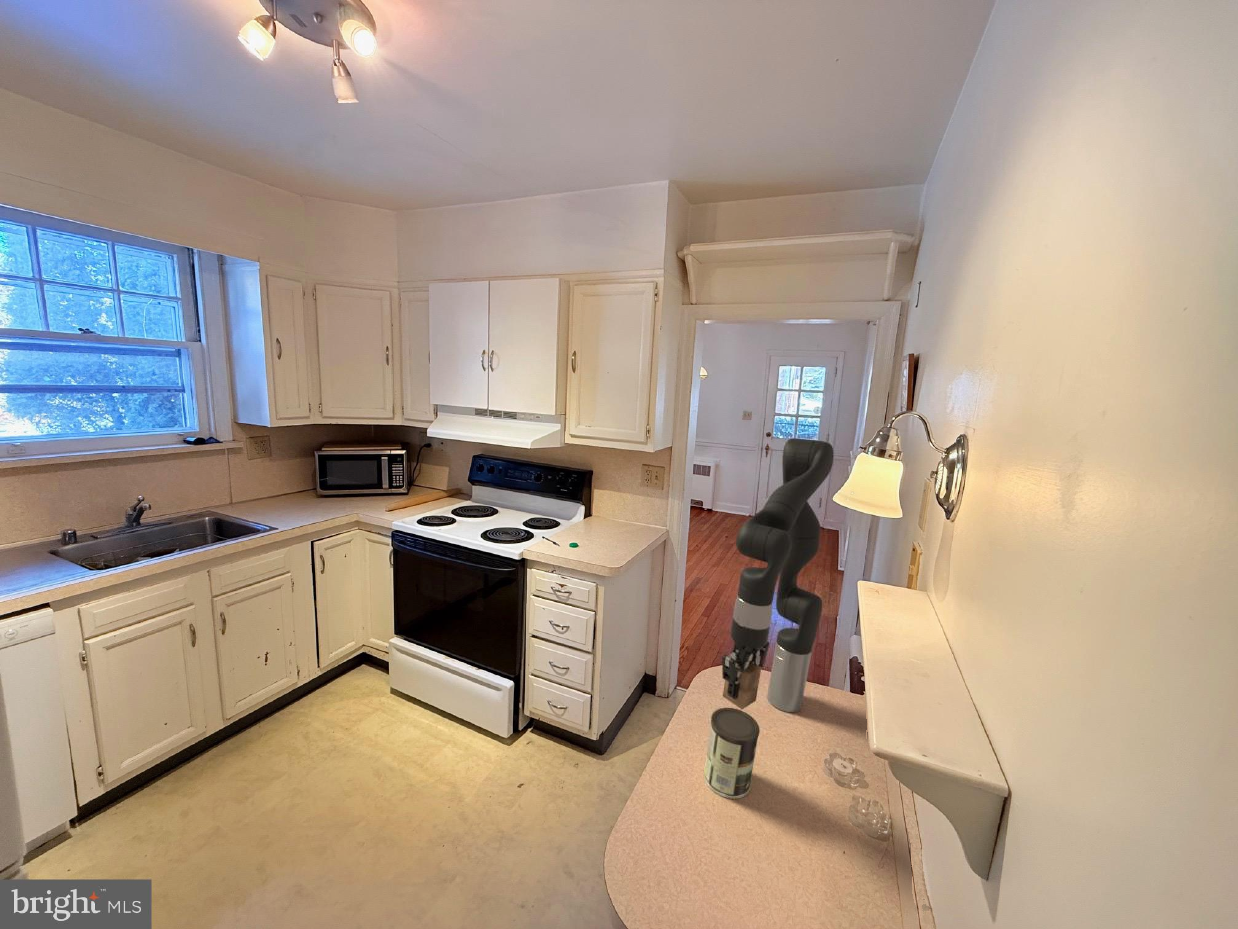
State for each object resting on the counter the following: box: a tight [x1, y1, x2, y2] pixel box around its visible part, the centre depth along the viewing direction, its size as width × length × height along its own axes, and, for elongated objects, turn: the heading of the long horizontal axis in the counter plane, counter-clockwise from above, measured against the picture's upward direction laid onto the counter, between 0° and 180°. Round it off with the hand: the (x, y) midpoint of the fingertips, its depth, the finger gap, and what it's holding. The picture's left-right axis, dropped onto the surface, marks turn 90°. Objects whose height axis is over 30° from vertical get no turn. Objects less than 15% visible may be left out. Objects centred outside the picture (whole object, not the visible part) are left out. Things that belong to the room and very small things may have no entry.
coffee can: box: [703, 707, 760, 800], centre depth 106 cm, size 10×10×14 cm
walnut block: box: [722, 664, 762, 710], centre depth 103 cm, size 5×5×8 cm
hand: (740, 691), depth 104 cm, fingers closed on walnut block, 5 cm apart
